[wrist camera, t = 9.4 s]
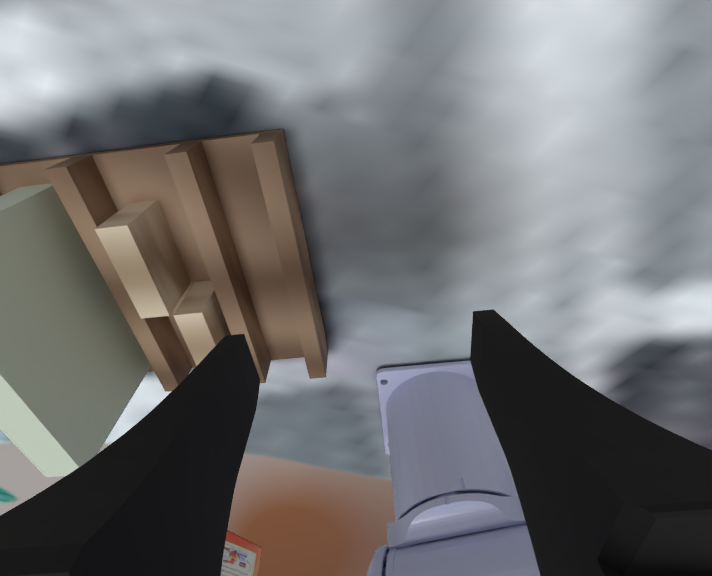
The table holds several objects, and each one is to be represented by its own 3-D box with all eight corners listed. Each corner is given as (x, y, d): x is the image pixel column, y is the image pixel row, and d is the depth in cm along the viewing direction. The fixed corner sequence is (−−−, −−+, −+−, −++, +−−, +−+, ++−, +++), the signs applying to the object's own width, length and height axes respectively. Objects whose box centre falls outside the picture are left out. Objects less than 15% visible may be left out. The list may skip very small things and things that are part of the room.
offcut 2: (243, 344, 25) (230, 382, 22) (220, 347, 25) (205, 384, 23) (219, 279, 22) (202, 312, 20) (194, 282, 23) (173, 315, 20)
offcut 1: (191, 282, 23) (169, 315, 20) (166, 285, 23) (141, 318, 20) (157, 199, 20) (126, 225, 17) (129, 203, 20) (94, 228, 17)
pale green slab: (154, 360, 26) (84, 474, 19) (125, 362, 26) (46, 477, 19) (59, 181, 19) (-97, 259, 13) (20, 186, 19) (-155, 266, 13)
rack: (328, 348, 26) (325, 377, 24) (105, 369, 27) (83, 398, 25) (282, 128, 19) (273, 140, 16) (-25, 167, 20) (-72, 184, 17)
